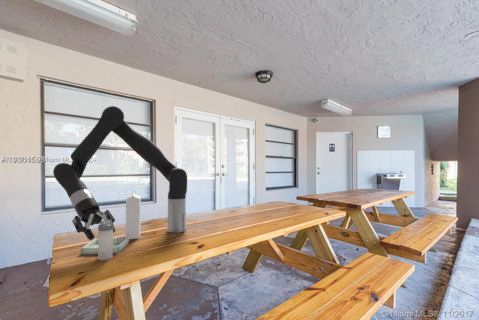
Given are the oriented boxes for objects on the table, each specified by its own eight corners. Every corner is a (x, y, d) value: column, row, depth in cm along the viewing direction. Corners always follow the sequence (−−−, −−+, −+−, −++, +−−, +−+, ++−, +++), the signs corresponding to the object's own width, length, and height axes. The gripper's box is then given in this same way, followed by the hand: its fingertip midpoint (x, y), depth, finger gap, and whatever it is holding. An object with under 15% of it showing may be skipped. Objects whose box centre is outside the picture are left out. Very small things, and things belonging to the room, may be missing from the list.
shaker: (115, 254, 95) (115, 223, 95) (109, 260, 90) (110, 226, 90) (101, 255, 95) (102, 223, 95) (95, 260, 90) (95, 226, 90)
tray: (128, 243, 109) (128, 237, 109) (118, 253, 97) (118, 247, 97) (95, 244, 107) (95, 238, 107) (80, 254, 95) (80, 248, 95)
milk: (125, 239, 114) (125, 192, 114) (127, 235, 120) (127, 191, 120) (139, 238, 116) (139, 192, 115) (140, 234, 121) (140, 190, 121)
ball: (123, 243, 107) (124, 236, 107) (121, 245, 104) (121, 238, 104) (116, 243, 107) (116, 236, 107) (114, 245, 104) (114, 238, 104)
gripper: (70, 199, 90) (90, 234, 85) (105, 195, 103) (124, 225, 98) (61, 212, 92) (80, 247, 88) (96, 206, 105) (114, 236, 101)
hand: (103, 235), depth 93 cm, fingers open, 8 cm apart
